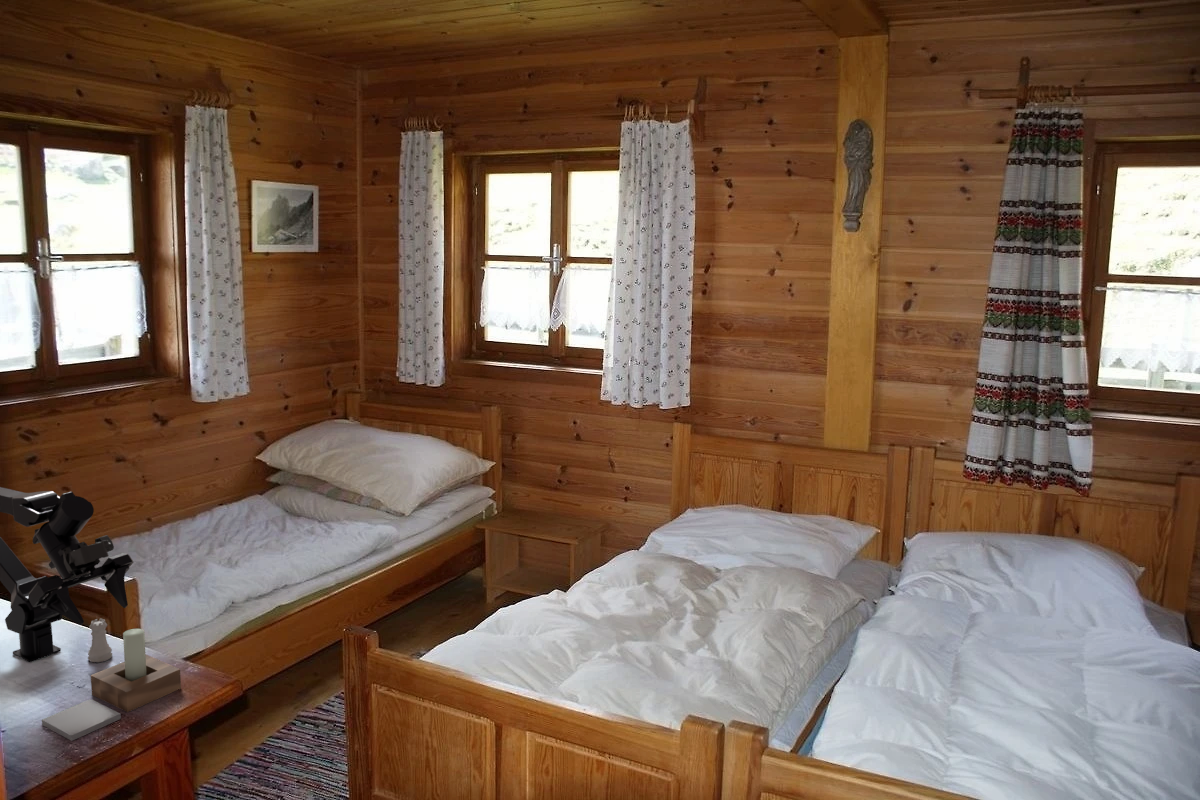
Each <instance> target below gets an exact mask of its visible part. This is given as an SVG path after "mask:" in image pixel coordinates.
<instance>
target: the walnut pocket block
mask: <svg viewBox="0 0 1200 800" xmlns="http://www.w3.org/2000/svg"><path fill="white" fill-rule="evenodd" d="M146 673H147V675H146V676H144V677H142V678H139V679H137V680H134V681H132V682H131V681H129V680H126V678H125V661H122V662H120V663H118V664H115V665H113V666H110V667H108V668H104V669H103V670H100V671H98V672H95V673H93V674H91V675H90V686H91V696H93V697H96V698H97V699H100V700H101V701H103V702H106V703H108V704H109V705H112V706H114V707H115V708H118V709H120V710H122V711H124V712H126V713H129V711H130V712H131V710H132V711H134V710H136V709H139V708H141V707H142V706H146V705H147V704H150V703H152V702H154V701H156V700H158V699H161V698H163V697H165V696H167V695H170V694H172V693H173V692H177V691H178V689H179V690H181V688H182V683H181V682H182V681H181V669H180V668H178V667H177V666H174V665H171V664H169V663H167V662H164V661H162V660H159V659H158V658H155V657H153V656H151V655H148V654H146ZM138 707H139V708H138Z"/></svg>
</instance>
